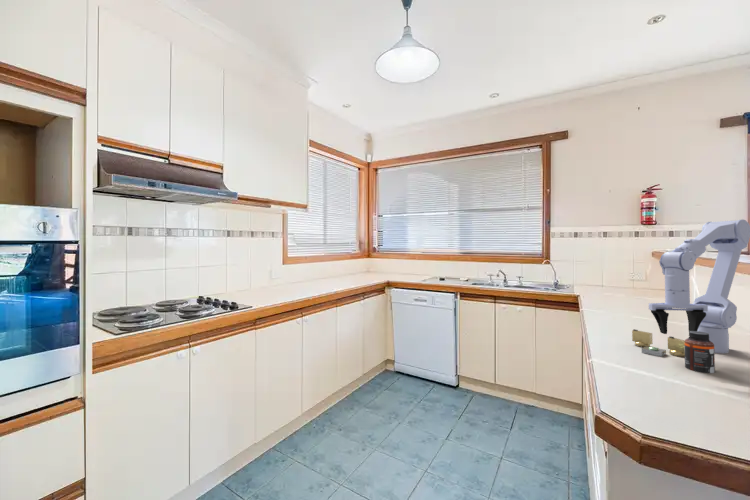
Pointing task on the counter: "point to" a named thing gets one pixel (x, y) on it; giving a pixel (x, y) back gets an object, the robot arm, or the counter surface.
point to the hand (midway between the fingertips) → (678, 333)
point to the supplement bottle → (699, 352)
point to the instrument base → (654, 351)
